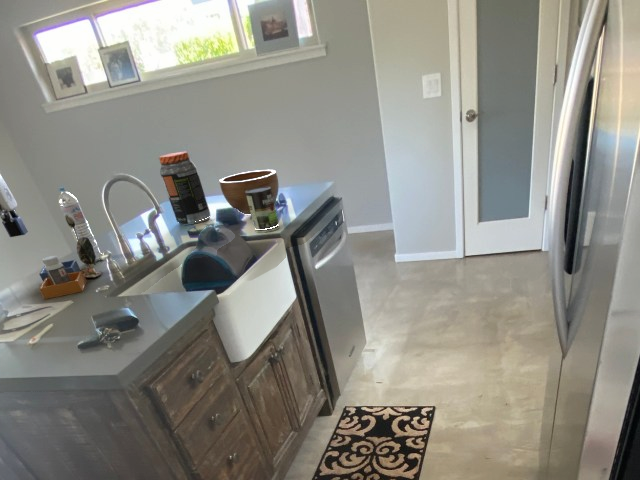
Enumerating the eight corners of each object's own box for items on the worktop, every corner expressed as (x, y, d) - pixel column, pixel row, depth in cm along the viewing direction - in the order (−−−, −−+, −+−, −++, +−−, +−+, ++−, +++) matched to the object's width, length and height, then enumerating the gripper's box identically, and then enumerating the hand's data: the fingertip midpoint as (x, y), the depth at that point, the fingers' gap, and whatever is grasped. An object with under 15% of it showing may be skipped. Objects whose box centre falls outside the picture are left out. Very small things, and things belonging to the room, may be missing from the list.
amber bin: (44, 299, 172) (38, 288, 170) (50, 288, 181) (45, 278, 179) (82, 291, 174) (77, 280, 172) (86, 281, 183) (81, 270, 181)
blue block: (24, 234, 171) (16, 219, 168) (10, 237, 170) (1, 221, 167) (28, 231, 174) (20, 216, 171) (13, 234, 174) (5, 219, 171)
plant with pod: (111, 269, 191) (84, 208, 178) (95, 279, 183) (65, 216, 170) (91, 271, 193) (63, 210, 179) (74, 281, 184) (44, 219, 171)
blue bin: (44, 284, 187) (39, 273, 184) (49, 275, 195) (44, 265, 192) (76, 277, 188) (71, 267, 186) (80, 269, 196) (75, 259, 194)
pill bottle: (77, 285, 178) (62, 254, 172) (66, 291, 174) (50, 260, 168) (64, 285, 180) (49, 255, 173) (52, 291, 176) (36, 260, 169)
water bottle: (101, 256, 208) (69, 184, 191) (105, 259, 203) (72, 186, 186) (84, 261, 205) (50, 188, 188) (87, 264, 201) (52, 190, 184)
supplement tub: (213, 214, 245) (194, 148, 228) (209, 222, 233) (188, 153, 216) (180, 219, 245) (158, 154, 228) (174, 227, 233) (151, 159, 216)
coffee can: (285, 225, 212) (276, 186, 202) (269, 233, 205) (259, 192, 196) (265, 225, 216) (256, 186, 207) (249, 232, 210) (239, 192, 200)
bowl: (263, 222, 221) (253, 181, 211) (218, 222, 230) (207, 183, 220) (295, 207, 236) (287, 168, 226) (251, 208, 246) (242, 171, 236)
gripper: (-11, 171, 154) (24, 237, 166) (5, 164, 167) (36, 226, 179) (-38, 175, 153) (-1, 242, 165) (-20, 168, 166) (13, 230, 178)
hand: (18, 233), depth 172 cm, fingers closed on blue block, 4 cm apart
